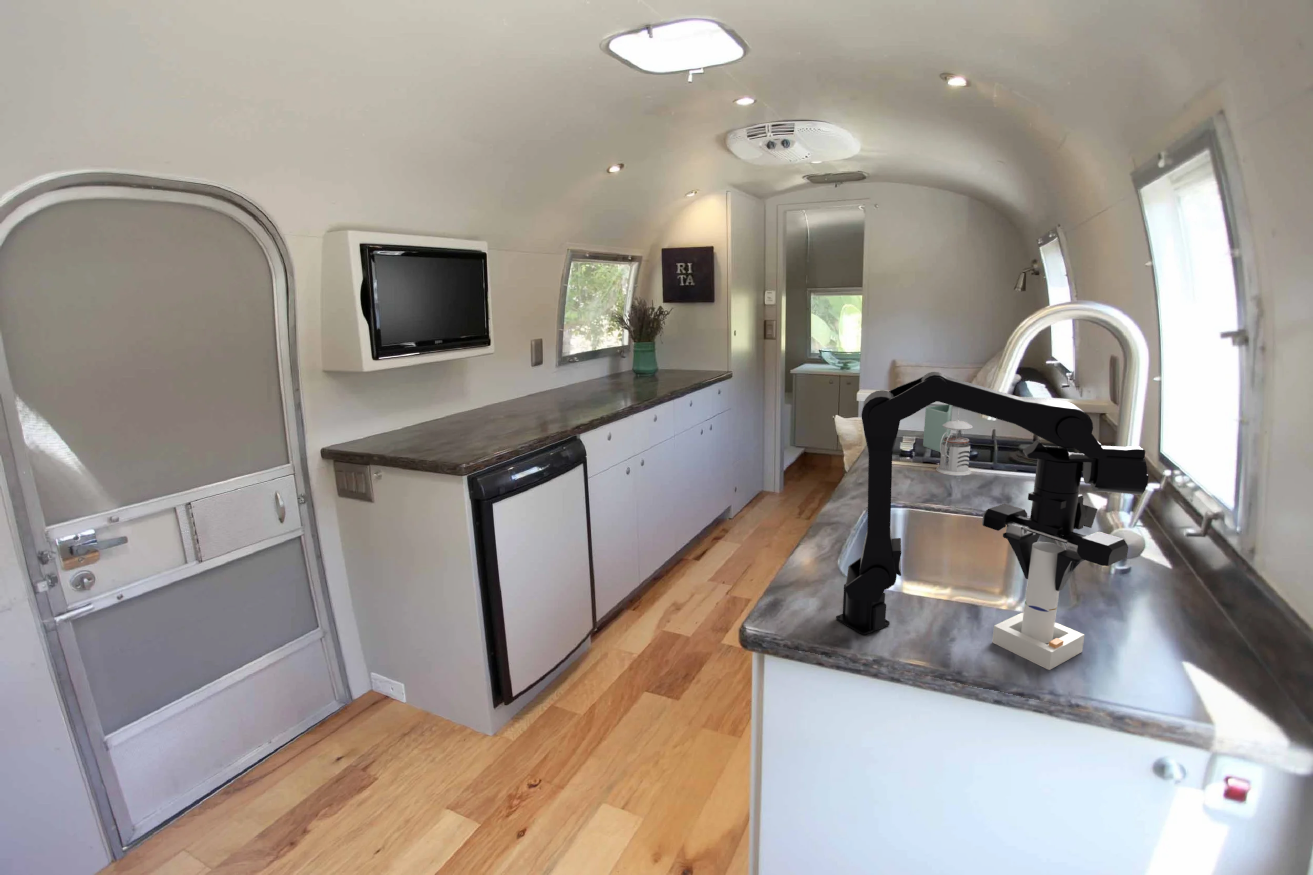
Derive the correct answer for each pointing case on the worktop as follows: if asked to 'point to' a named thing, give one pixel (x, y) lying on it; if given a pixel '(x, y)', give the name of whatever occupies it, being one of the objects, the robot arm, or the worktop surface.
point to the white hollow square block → (1038, 643)
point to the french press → (955, 450)
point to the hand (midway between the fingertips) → (1043, 584)
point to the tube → (1041, 592)
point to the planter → (936, 426)
